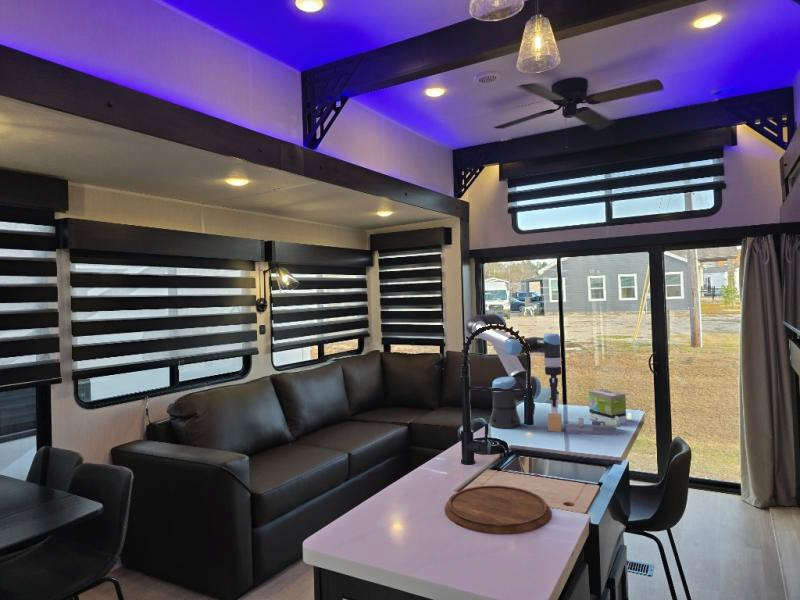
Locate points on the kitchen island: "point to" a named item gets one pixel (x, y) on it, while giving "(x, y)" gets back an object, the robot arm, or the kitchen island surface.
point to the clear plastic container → (590, 428)
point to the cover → (612, 422)
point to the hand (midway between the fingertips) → (554, 410)
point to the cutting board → (497, 510)
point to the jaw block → (554, 422)
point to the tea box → (607, 405)
